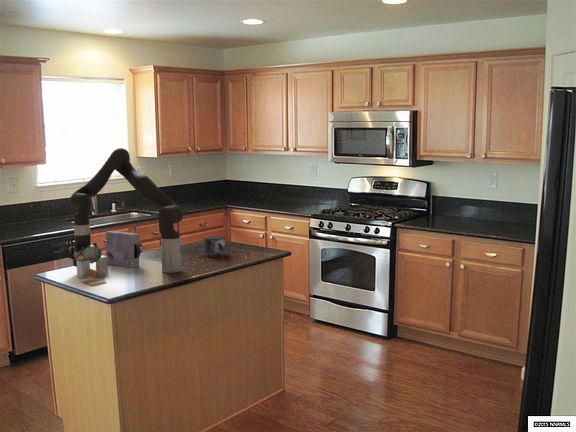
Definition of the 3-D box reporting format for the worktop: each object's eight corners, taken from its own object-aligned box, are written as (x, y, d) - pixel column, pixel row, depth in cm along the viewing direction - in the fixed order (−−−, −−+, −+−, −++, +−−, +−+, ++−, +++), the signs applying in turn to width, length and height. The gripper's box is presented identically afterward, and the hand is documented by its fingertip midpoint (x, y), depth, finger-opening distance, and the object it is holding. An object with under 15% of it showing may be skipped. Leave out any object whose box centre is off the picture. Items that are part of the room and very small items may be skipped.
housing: (107, 273, 293) (106, 243, 291) (82, 279, 283) (80, 248, 280) (102, 271, 296) (101, 242, 294) (77, 277, 286) (75, 247, 283)
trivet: (106, 282, 277) (106, 281, 277) (92, 286, 271) (92, 284, 271) (94, 279, 283) (94, 277, 283) (81, 282, 278) (81, 280, 278)
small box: (207, 257, 326) (207, 239, 324) (204, 255, 332) (204, 236, 330) (226, 255, 330) (225, 237, 329) (222, 253, 336) (222, 235, 334)
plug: (106, 277, 285) (105, 266, 284) (97, 279, 282) (97, 268, 281) (86, 270, 298) (85, 260, 297) (78, 272, 295) (77, 261, 294)
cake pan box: (141, 266, 307) (140, 233, 304) (136, 268, 303) (134, 234, 300) (111, 262, 314) (110, 230, 311) (105, 264, 310) (104, 231, 307)
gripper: (91, 230, 299) (92, 261, 302) (64, 234, 288) (66, 266, 291) (99, 232, 294) (100, 263, 297) (72, 236, 284) (74, 269, 286)
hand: (83, 264), depth 294 cm, fingers open, 8 cm apart
